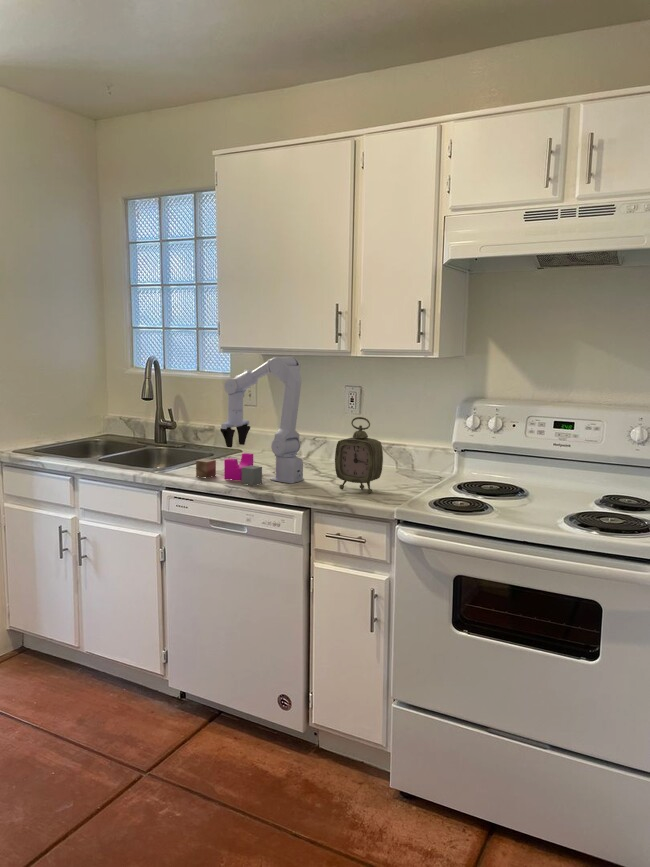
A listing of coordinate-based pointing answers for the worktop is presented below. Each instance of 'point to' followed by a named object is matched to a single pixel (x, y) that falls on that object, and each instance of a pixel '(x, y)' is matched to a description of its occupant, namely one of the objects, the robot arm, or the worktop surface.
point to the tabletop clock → (359, 458)
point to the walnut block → (205, 468)
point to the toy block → (236, 466)
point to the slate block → (251, 475)
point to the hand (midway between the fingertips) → (235, 445)
